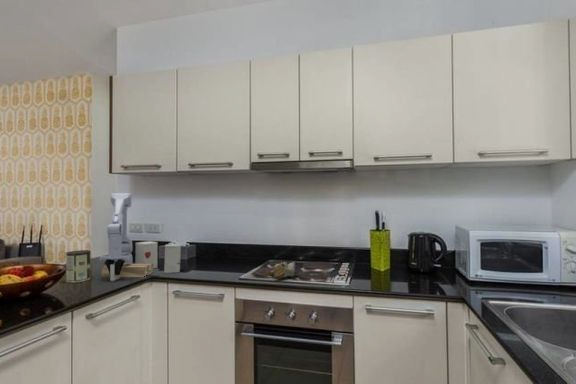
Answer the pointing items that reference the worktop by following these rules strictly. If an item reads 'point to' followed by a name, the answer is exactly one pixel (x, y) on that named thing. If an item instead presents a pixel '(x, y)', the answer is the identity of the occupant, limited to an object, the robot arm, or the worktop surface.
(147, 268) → the block
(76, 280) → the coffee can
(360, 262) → the worktop surface
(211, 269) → the worktop surface
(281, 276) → the ceramic sculpture
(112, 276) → the bracket plate
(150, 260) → the supplement box
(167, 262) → the skincare box
